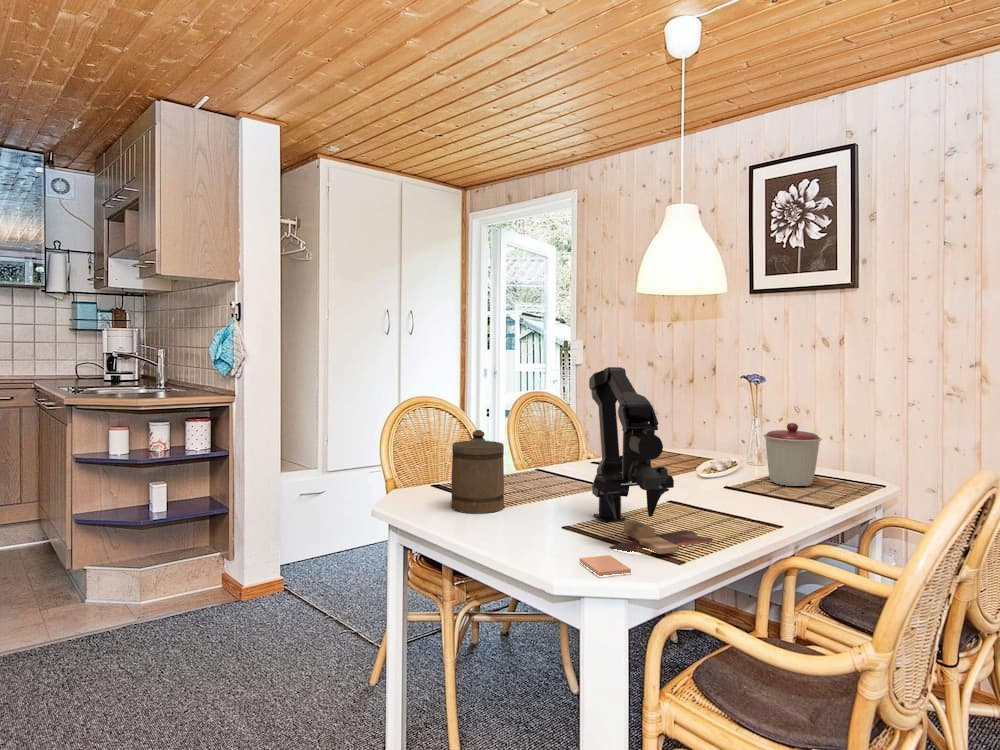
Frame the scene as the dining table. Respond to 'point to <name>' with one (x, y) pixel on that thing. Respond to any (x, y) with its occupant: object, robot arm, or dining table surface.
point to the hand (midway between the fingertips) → (633, 517)
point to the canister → (792, 456)
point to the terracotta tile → (605, 565)
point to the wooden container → (477, 475)
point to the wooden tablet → (673, 537)
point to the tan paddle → (648, 537)
